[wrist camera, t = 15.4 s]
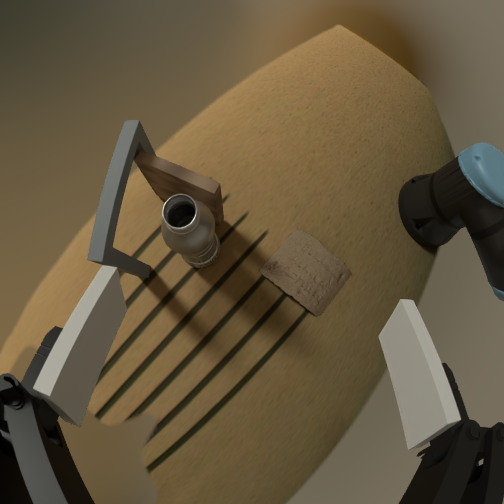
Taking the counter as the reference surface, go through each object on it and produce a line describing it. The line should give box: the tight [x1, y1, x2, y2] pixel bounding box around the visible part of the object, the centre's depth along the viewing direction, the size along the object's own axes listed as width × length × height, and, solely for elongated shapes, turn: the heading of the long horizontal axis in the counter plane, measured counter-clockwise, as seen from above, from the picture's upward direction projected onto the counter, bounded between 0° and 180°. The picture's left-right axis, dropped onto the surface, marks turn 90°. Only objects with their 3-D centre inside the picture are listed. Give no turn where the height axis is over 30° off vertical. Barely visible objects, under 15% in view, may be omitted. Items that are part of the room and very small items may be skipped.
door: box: [134, 150, 224, 226], centre depth 40 cm, size 13×3×14 cm, turn 64°
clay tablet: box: [259, 229, 352, 317], centre depth 46 cm, size 14×10×3 cm
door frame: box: [87, 120, 156, 278], centre depth 38 cm, size 2×18×18 cm, turn 174°
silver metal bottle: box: [162, 194, 220, 268], centre depth 37 cm, size 6×7×20 cm
